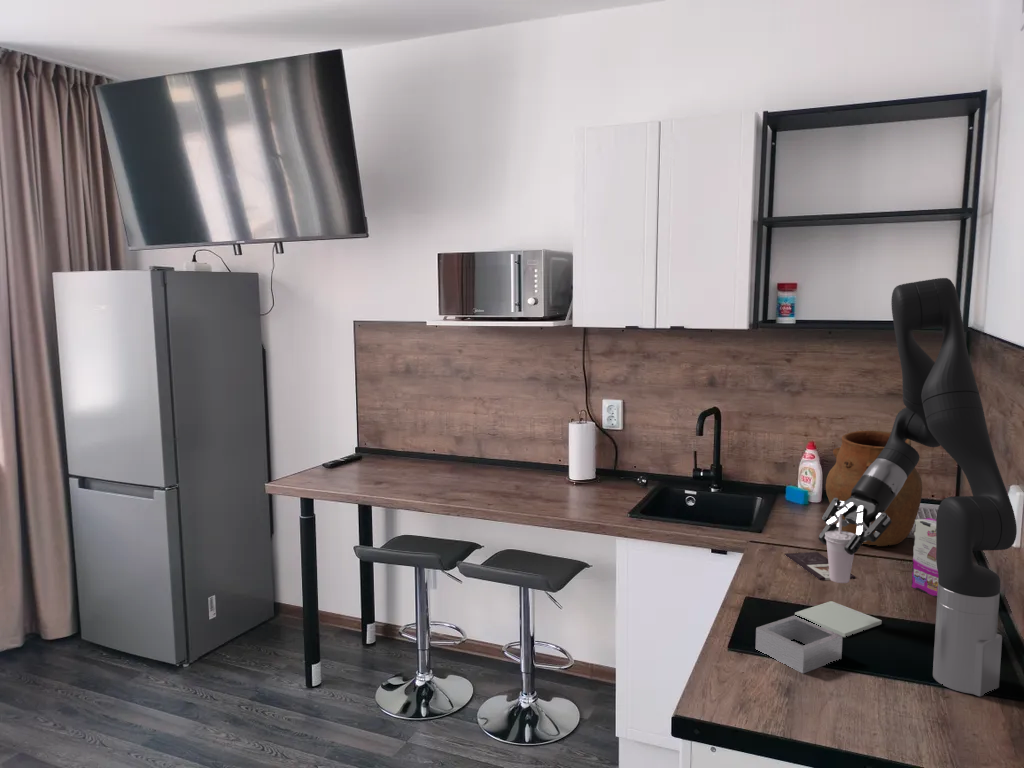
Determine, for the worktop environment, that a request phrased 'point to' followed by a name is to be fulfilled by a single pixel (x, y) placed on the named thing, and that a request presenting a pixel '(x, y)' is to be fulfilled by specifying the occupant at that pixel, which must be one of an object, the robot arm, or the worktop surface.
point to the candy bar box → (925, 557)
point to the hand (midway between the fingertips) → (834, 546)
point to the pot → (850, 468)
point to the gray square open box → (805, 658)
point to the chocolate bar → (813, 564)
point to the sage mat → (839, 618)
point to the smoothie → (839, 554)
